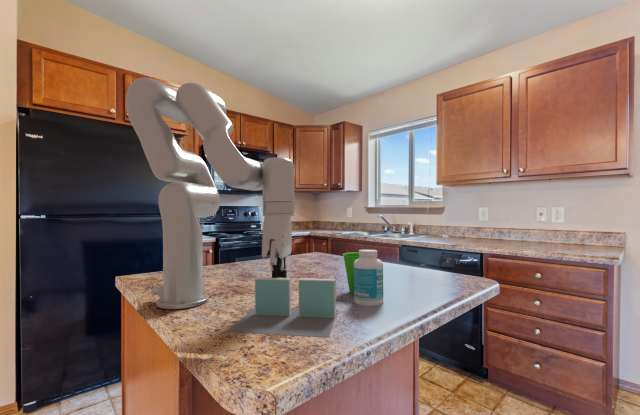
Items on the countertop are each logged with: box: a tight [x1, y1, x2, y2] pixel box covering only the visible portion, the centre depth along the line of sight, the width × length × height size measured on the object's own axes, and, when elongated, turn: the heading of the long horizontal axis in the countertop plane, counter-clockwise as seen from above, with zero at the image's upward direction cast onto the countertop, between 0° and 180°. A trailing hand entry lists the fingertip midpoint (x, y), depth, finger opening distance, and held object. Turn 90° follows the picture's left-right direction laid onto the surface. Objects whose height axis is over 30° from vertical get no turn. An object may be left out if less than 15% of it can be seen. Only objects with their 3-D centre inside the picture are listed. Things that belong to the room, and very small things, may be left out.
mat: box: [225, 307, 339, 338], centre depth 66 cm, size 20×16×1 cm
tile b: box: [297, 277, 337, 319], centre depth 68 cm, size 8×2×8 cm, turn 81°
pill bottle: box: [353, 249, 384, 307], centre depth 79 cm, size 8×7×14 cm
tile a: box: [254, 276, 292, 316], centre depth 69 cm, size 8×2×8 cm, turn 81°
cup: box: [342, 251, 360, 295], centre depth 90 cm, size 9×9×11 cm
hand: (279, 286), depth 74 cm, fingers closed
